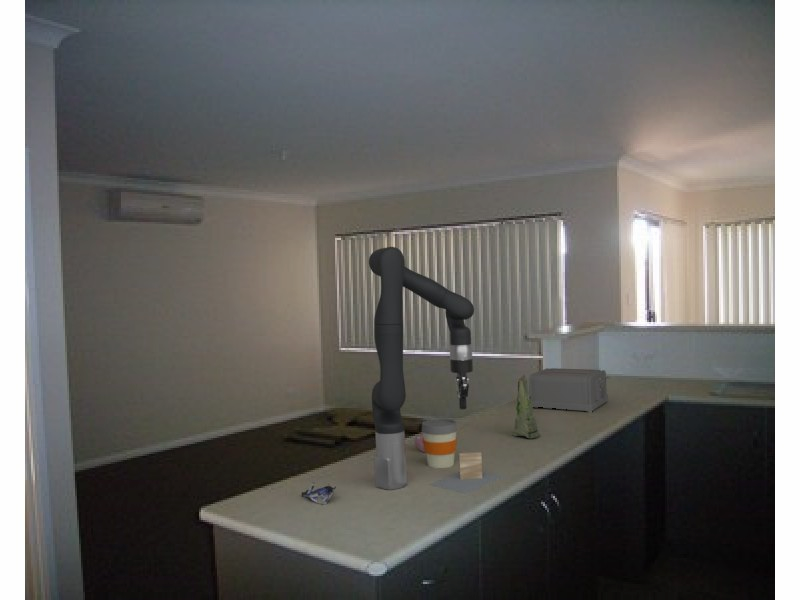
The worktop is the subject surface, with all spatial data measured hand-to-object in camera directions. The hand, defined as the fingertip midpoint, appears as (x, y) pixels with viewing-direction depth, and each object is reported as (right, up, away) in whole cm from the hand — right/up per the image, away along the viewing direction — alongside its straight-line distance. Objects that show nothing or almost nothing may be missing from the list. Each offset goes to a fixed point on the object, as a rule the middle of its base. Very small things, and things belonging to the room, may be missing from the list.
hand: (462, 408), depth 204 cm
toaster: (+67, -18, +105) cm, 126 cm away
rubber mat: (0, -21, -13) cm, 24 cm away
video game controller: (-11, -21, +30) cm, 38 cm away
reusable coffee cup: (-7, -21, +7) cm, 23 cm away
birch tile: (+2, -20, -10) cm, 23 cm away
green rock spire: (+30, -19, +44) cm, 56 cm away
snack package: (-46, -24, -22) cm, 56 cm away
